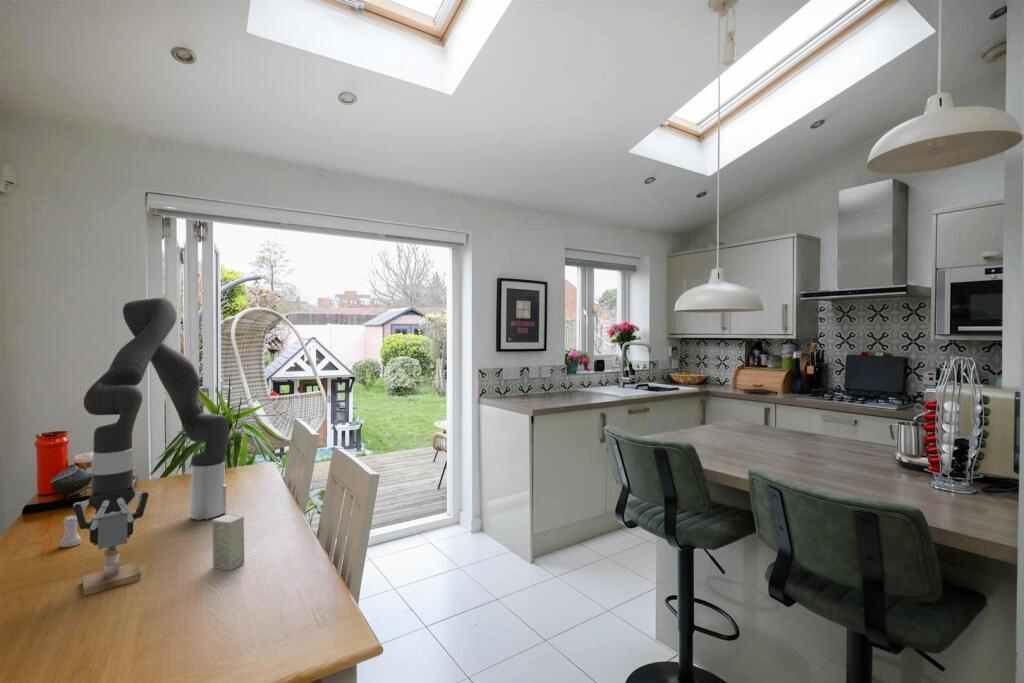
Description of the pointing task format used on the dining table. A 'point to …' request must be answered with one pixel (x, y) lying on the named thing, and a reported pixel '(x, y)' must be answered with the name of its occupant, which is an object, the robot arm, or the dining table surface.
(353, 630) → the dining table surface
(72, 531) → the rook chess piece
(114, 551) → the wooden stand with post
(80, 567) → the dining table surface
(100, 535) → the blue-grey rectangular block
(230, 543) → the skincare box
